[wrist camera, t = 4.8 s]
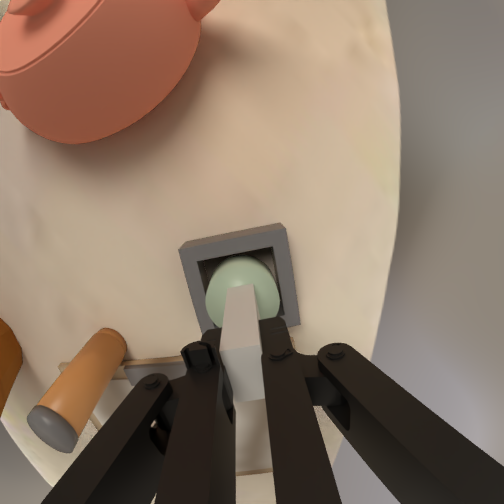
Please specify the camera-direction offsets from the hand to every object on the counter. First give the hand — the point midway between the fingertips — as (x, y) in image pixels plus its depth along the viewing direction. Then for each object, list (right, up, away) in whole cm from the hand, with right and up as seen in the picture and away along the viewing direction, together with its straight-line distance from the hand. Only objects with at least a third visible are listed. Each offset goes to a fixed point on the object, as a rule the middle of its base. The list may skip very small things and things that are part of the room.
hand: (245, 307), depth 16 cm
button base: (0, +1, +5) cm, 5 cm away
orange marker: (-12, -5, +6) cm, 15 cm away
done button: (0, +1, +3) cm, 3 cm away
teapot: (-10, +19, 0) cm, 22 cm away
